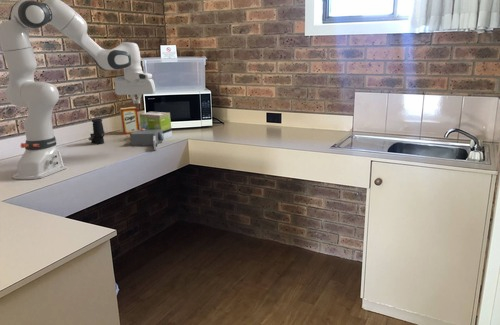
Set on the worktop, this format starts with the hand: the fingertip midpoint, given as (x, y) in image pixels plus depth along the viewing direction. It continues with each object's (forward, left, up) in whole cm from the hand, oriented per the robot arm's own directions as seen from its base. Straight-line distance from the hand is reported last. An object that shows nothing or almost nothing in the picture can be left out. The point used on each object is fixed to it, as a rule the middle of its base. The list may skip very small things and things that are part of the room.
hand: (136, 103), depth 206 cm
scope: (+16, +32, -24) cm, 43 cm away
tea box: (+28, +2, -24) cm, 37 cm away
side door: (+3, -6, -24) cm, 25 cm away
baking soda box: (+44, +25, -24) cm, 56 cm away
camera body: (+15, +3, -24) cm, 28 cm away
